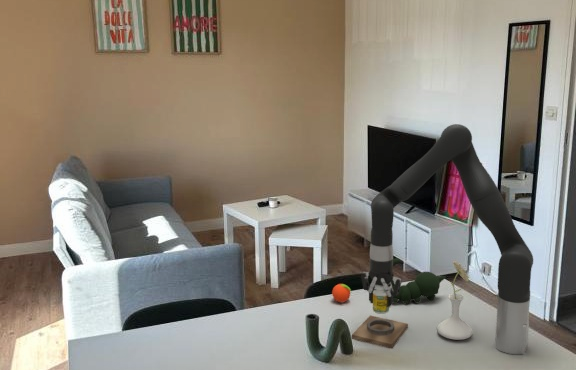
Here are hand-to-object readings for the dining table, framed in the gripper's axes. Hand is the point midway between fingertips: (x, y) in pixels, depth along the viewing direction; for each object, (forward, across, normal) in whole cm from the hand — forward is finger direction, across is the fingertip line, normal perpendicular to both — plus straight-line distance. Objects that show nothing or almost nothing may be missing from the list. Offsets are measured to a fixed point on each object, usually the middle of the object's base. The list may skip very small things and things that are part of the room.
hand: (380, 304), depth 188 cm
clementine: (+11, +22, -17) cm, 30 cm away
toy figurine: (+11, -2, -30) cm, 32 cm away
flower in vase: (+11, -22, -11) cm, 27 cm away
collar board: (+11, 0, 0) cm, 11 cm away
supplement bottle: (+3, 0, 0) cm, 3 cm away
